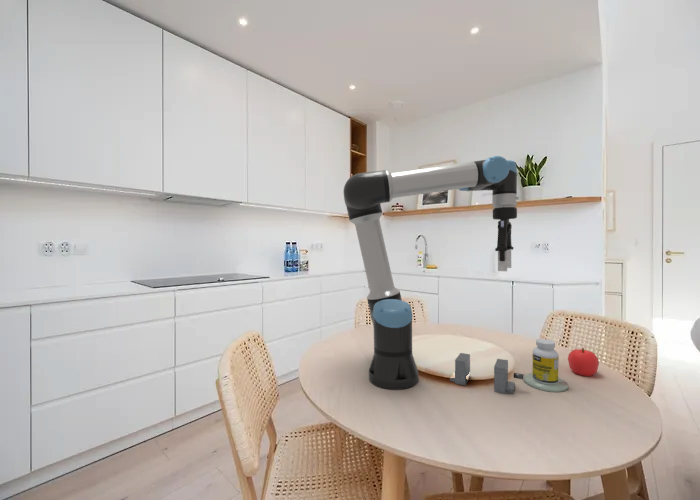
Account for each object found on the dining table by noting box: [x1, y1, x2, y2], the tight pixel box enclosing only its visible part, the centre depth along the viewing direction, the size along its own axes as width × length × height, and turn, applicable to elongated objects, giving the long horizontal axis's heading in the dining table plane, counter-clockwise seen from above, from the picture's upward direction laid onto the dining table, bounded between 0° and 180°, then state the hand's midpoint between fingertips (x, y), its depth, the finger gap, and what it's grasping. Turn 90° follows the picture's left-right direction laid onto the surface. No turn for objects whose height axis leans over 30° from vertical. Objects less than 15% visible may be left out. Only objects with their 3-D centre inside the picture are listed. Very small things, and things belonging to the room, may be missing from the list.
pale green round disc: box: [523, 372, 569, 393], centre depth 96 cm, size 11×11×1 cm
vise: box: [449, 352, 525, 395], centre depth 96 cm, size 19×7×7 cm, turn 59°
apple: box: [567, 347, 600, 377], centre depth 102 cm, size 8×8×8 cm
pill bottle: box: [532, 338, 560, 385], centre depth 95 cm, size 6×6×12 cm
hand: (504, 269), depth 113 cm, fingers open, 13 cm apart
